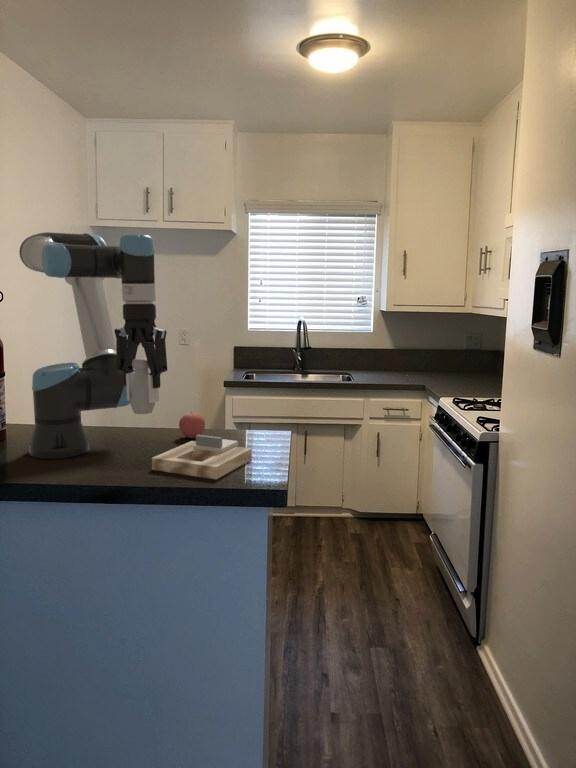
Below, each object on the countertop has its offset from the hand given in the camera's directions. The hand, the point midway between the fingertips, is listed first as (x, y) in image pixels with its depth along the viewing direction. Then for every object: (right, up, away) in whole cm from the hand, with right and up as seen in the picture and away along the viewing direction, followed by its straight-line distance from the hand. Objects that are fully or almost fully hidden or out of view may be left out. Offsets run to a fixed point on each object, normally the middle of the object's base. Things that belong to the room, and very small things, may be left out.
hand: (142, 400), depth 149 cm
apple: (+7, -12, +35) cm, 37 cm away
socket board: (+13, -16, +8) cm, 23 cm away
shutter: (+16, -12, +13) cm, 24 cm away
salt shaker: (0, -3, 0) cm, 3 cm away
